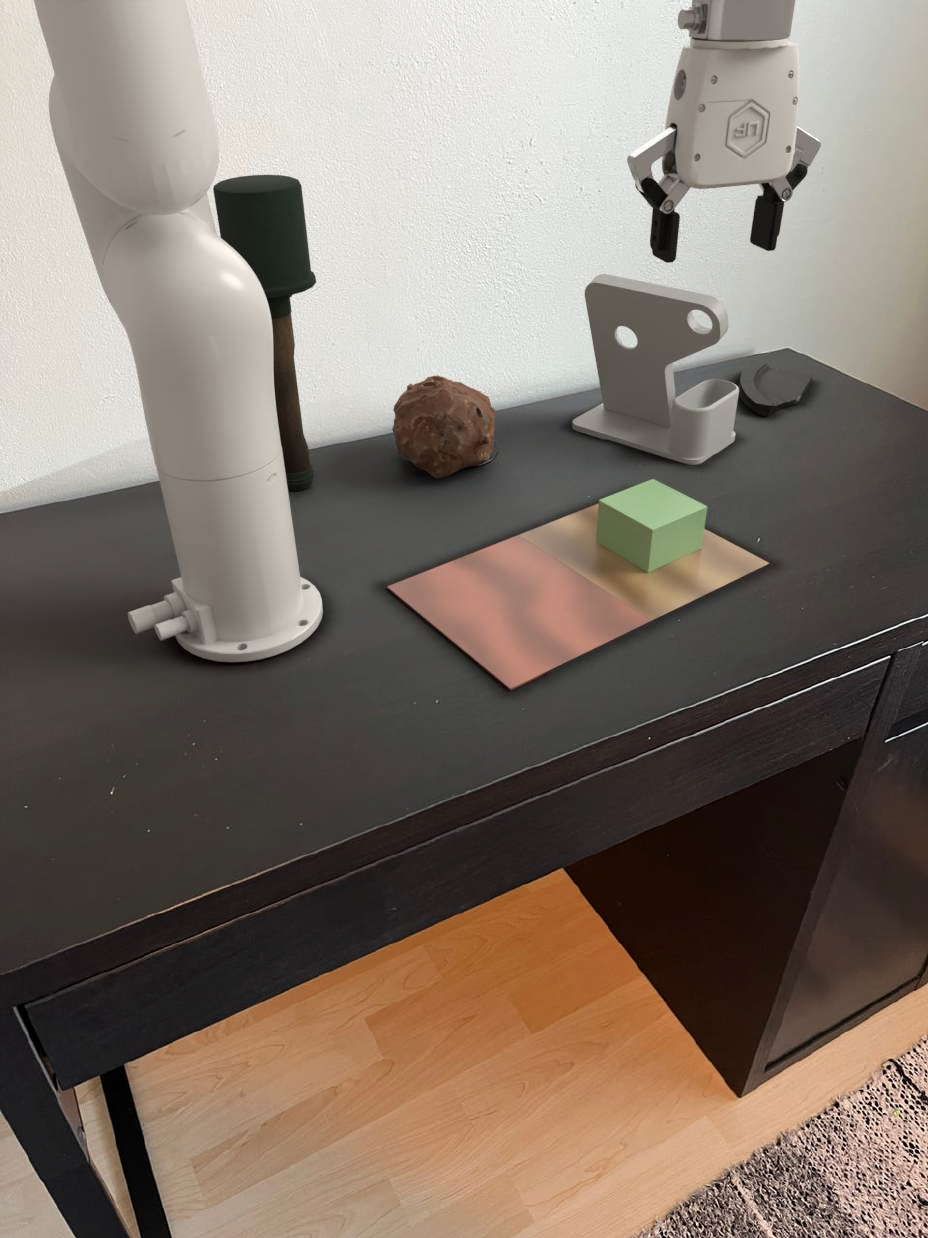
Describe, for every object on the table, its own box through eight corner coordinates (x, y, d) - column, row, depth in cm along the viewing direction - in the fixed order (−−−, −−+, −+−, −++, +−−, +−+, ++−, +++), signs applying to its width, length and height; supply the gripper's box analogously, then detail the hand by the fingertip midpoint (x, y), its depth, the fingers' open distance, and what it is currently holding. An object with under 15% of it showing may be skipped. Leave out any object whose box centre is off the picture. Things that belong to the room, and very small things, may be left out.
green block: (647, 573, 87) (652, 529, 84) (595, 541, 91) (598, 499, 89) (701, 548, 90) (707, 506, 87) (648, 519, 95) (652, 478, 92)
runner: (510, 690, 74) (510, 688, 74) (386, 588, 86) (386, 586, 86) (769, 564, 88) (769, 562, 88) (631, 491, 100) (631, 490, 100)
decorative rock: (508, 487, 101) (508, 397, 95) (402, 499, 100) (397, 408, 94) (481, 436, 112) (480, 352, 106) (385, 446, 110) (379, 361, 104)
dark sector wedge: (717, 408, 117) (719, 395, 116) (750, 371, 127) (752, 359, 126) (786, 420, 114) (789, 407, 113) (814, 382, 123) (816, 370, 122)
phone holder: (742, 438, 110) (767, 277, 99) (697, 469, 104) (719, 302, 93) (614, 401, 119) (625, 251, 109) (566, 428, 113) (573, 272, 103)
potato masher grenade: (344, 467, 106) (314, 172, 89) (327, 505, 99) (291, 192, 82) (269, 465, 107) (225, 172, 89) (247, 502, 100) (194, 192, 82)
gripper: (662, 32, 69) (642, 274, 79) (867, 20, 73) (824, 253, 83) (618, 25, 75) (604, 252, 85) (810, 15, 79) (776, 233, 89)
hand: (713, 252), depth 84 cm, fingers open, 9 cm apart
